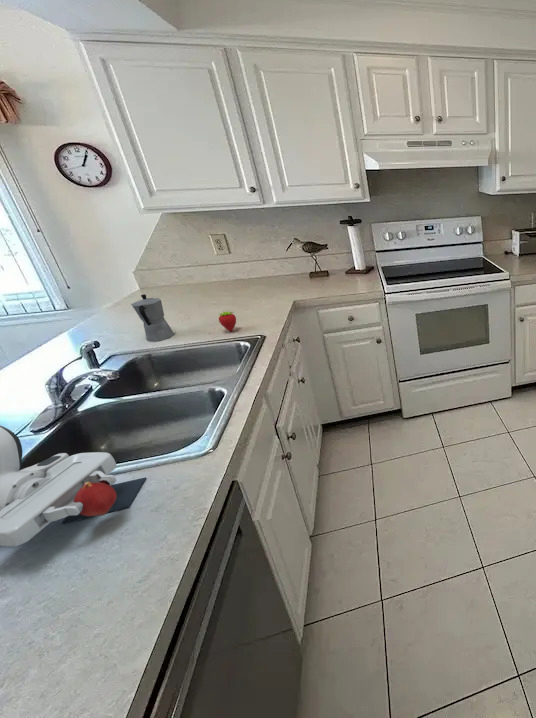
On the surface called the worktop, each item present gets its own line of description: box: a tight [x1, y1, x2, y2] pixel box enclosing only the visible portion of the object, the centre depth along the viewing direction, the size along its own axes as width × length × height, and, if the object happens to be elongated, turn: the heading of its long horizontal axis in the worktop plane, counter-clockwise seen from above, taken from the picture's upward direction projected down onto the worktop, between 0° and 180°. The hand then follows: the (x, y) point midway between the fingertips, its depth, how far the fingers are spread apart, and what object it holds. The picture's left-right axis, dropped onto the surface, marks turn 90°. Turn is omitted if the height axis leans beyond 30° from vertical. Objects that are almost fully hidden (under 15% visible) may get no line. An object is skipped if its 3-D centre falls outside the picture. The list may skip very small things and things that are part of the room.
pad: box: [61, 476, 148, 525], centre depth 87 cm, size 11×9×1 cm
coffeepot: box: [130, 293, 175, 343], centre depth 160 cm, size 15×9×18 cm, turn 27°
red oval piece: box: [74, 482, 117, 517], centre depth 78 cm, size 6×6×8 cm
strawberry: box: [218, 311, 237, 333], centre depth 166 cm, size 6×8×10 cm
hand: (97, 494), depth 78 cm, fingers closed on red oval piece, 5 cm apart
